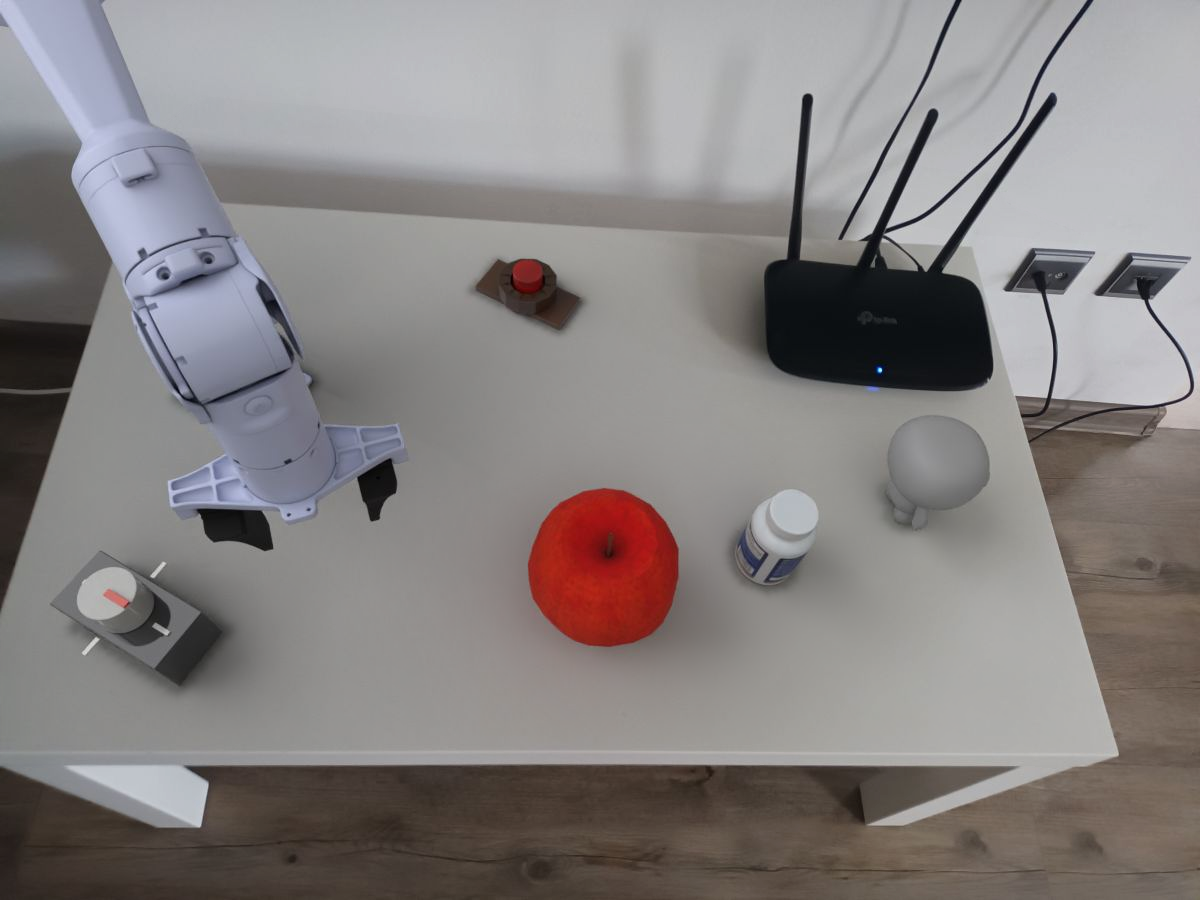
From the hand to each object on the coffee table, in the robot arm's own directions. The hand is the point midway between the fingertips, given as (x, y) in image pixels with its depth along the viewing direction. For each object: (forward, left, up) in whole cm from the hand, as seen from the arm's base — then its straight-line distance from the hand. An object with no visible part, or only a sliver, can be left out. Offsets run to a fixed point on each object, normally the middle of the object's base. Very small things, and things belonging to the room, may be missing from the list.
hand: (320, 523), depth 60 cm
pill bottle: (+31, +19, -10) cm, 38 cm away
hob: (-10, -11, -10) cm, 18 cm away
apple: (+20, +8, -10) cm, 24 cm away
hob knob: (-10, -11, -5) cm, 16 cm away
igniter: (-3, +34, -10) cm, 36 cm away
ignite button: (-2, +34, -8) cm, 35 cm away
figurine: (+40, +30, -10) cm, 51 cm away
